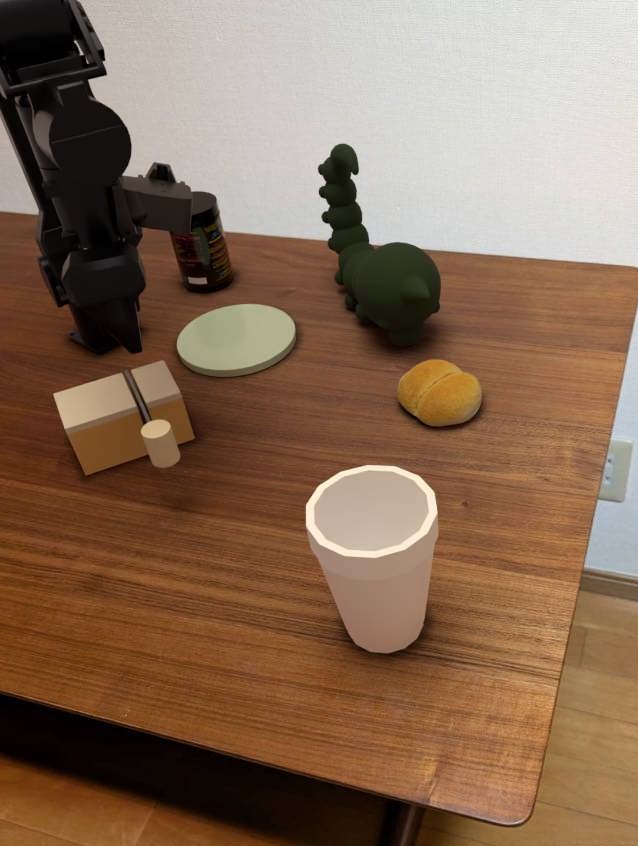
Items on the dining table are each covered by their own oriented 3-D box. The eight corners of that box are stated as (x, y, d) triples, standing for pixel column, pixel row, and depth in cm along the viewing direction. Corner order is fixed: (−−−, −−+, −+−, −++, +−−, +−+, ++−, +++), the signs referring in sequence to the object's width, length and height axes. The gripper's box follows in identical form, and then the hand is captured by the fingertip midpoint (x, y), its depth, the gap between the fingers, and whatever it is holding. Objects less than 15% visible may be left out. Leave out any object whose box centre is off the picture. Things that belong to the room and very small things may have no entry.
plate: (154, 351, 98) (151, 344, 98) (240, 299, 105) (238, 292, 105) (235, 391, 92) (233, 384, 91) (320, 333, 99) (319, 325, 98)
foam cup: (328, 584, 72) (306, 471, 62) (434, 573, 72) (429, 458, 62) (330, 675, 65) (306, 564, 56) (447, 663, 65) (443, 551, 56)
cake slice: (147, 416, 90) (130, 369, 85) (178, 406, 91) (163, 359, 86) (162, 450, 86) (145, 402, 81) (195, 438, 86) (180, 391, 82)
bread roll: (442, 440, 84) (441, 409, 81) (386, 402, 89) (383, 371, 86) (500, 405, 87) (501, 373, 84) (443, 370, 92) (442, 338, 89)
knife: (129, 416, 89) (102, 344, 83) (152, 408, 90) (127, 336, 83) (172, 515, 78) (144, 441, 72) (198, 506, 79) (173, 431, 72)
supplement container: (239, 267, 111) (222, 190, 104) (228, 293, 107) (210, 214, 99) (190, 268, 112) (169, 191, 104) (177, 294, 107) (155, 216, 100)
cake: (73, 440, 88) (52, 393, 83) (138, 418, 89) (121, 372, 85) (85, 475, 83) (64, 428, 79) (153, 452, 85) (136, 405, 81)
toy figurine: (316, 297, 108) (395, 380, 90) (287, 142, 95) (373, 205, 78) (381, 277, 110) (471, 355, 93) (362, 124, 98) (462, 181, 80)
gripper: (177, 169, 63) (230, 355, 73) (166, 114, 77) (211, 276, 87) (27, 200, 61) (102, 385, 71) (43, 138, 75) (104, 300, 85)
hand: (136, 331), depth 79 cm, fingers open, 9 cm apart
